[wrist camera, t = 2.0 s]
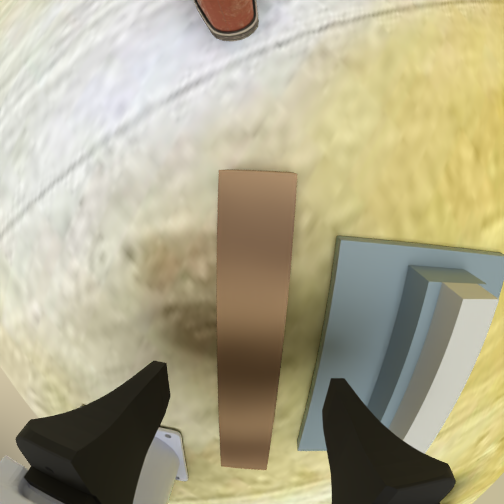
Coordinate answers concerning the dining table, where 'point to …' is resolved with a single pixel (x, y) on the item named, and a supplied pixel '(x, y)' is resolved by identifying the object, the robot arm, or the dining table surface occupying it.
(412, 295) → the ridge stand
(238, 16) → the lighter
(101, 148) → the dining table surface
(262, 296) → the walnut bar
